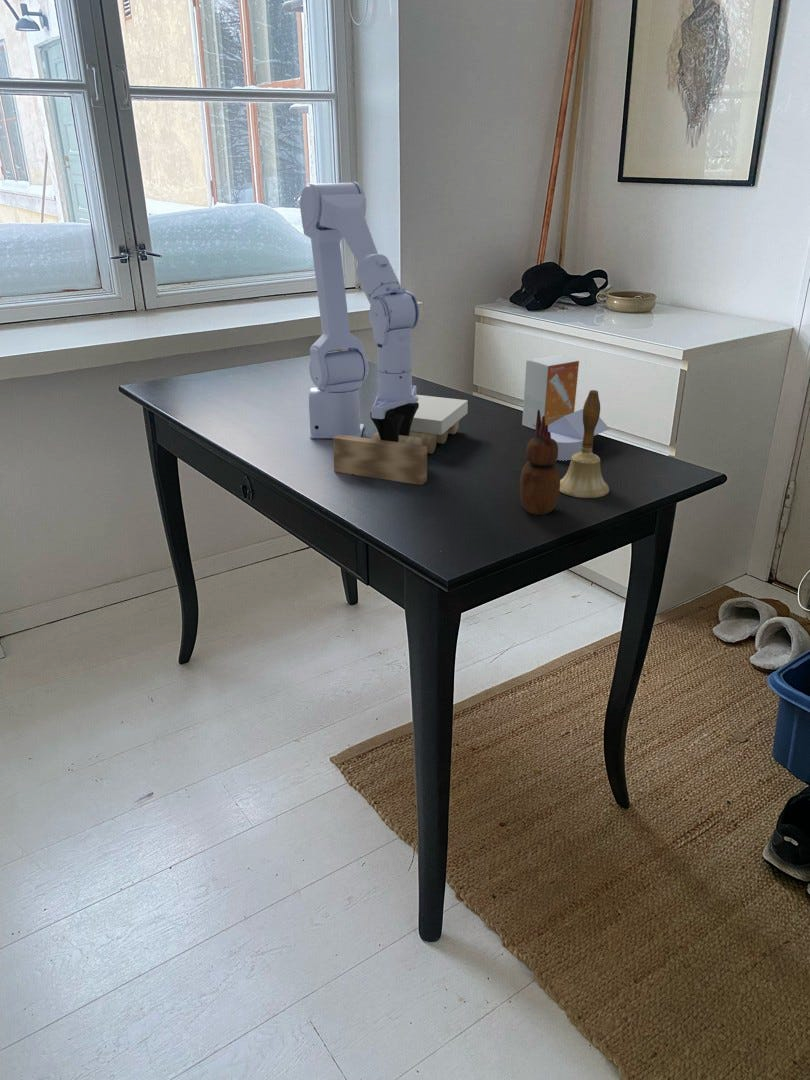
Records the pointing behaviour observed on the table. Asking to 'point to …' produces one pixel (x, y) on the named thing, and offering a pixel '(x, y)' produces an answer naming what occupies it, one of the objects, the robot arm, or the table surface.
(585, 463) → the hand bell
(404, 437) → the roller
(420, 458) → the block
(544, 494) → the wooden figurine
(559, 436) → the wedge on round base
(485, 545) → the table surface
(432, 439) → the roller track
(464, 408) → the slab
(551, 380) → the small box
